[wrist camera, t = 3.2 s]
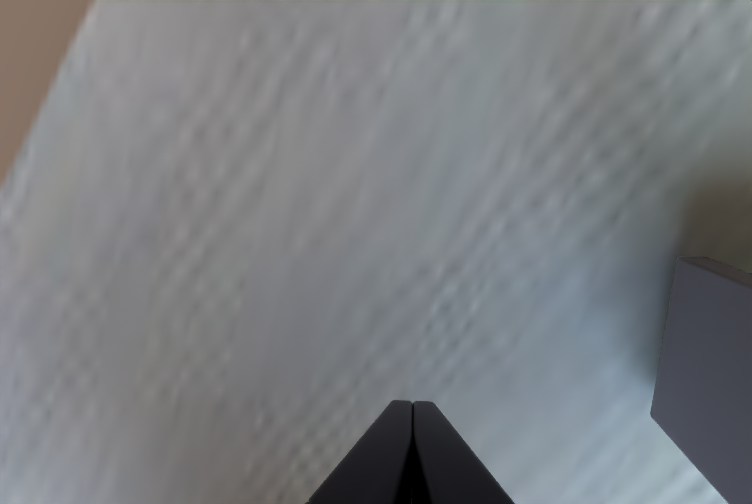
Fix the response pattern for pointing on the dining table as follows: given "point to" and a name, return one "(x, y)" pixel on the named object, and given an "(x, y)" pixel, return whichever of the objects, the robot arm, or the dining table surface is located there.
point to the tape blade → (709, 373)
